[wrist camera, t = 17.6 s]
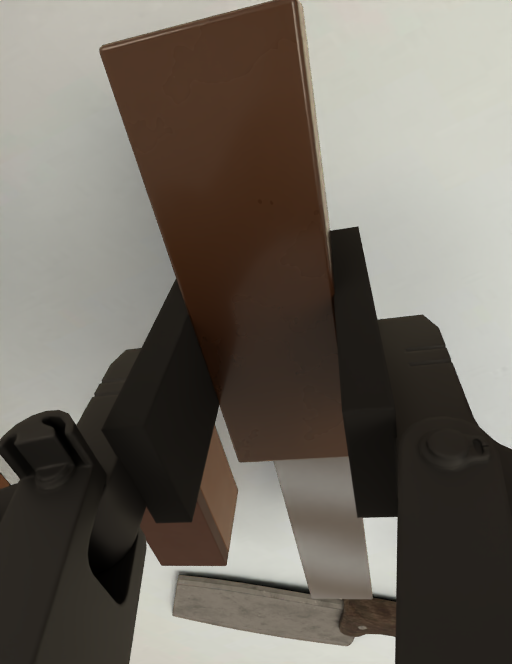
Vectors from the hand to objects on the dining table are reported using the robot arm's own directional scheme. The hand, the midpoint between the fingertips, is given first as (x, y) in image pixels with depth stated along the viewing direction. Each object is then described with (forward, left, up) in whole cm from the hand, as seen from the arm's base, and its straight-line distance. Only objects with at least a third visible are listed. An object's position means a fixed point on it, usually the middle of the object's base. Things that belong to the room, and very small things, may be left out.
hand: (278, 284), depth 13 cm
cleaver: (+36, -2, -7) cm, 37 cm away
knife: (+5, 0, 0) cm, 5 cm away
